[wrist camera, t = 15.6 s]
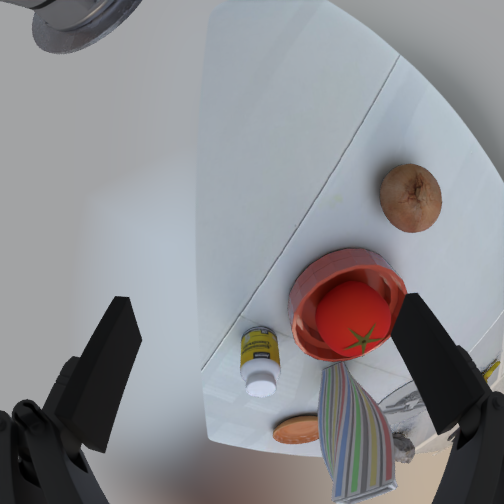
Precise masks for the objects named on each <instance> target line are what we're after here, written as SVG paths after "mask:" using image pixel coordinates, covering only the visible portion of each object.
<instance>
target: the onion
mask: <svg viewBox="0 0 504 504" xmlns="http://www.w3.org/2000/svg"><path fill="white" fill-rule="evenodd" d="M380 202H381V206H382V209H383V212H384V214H385V215H386V217H387V218H388V220H389V221H390V222H391V223H392V224H393V225H394V226H395V227H396V228H398V229H400V230H402V231H404V232H408V233H416V232H421V231H424V230H426V229H428V228H429V227H431V226H432V225H433V224H434V222H435V221H436V220H437V218H438V216H439V214H440V211H441V206H442V198H441V190H440V187H439V185H438V182H437V180H436V179H435V178H434V176H433V175H432V174H431V173H430V172H429V171H428V170H426V169H425V168H423V167H421V166H418V165H415V164H405V165H400V166H397V167H395V168H394V169H393V170H391V171H390V172H389V173H388V174H387V175H386V177H385V178H384V180H383V182H382V184H381V189H380Z"/></svg>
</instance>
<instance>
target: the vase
mask: <svg viewBox="0 0 504 504" xmlns="http://www.w3.org/2000/svg"><path fill="white" fill-rule="evenodd" d="M318 431H319V440H320V447H321V451H322V455H323V459H324V462H325V465H326V467H327V470H328V472H329V474H330V476H331V478H332V481H333V488H332V501H333V502H335V503H338V504H354V503H358V502H361V501H364V500H367V499H370V498H373V497H376V496H379V495H382V494H384V493H387V492H390V491H392V490H395V489H396V488H397V483H396V480H395V452H394V442H393V436H392V431H391V428H390V425H389V423H388V421H387V418H386V416H385V415H384V413H383V411H382V410H381V408H380V407H379V406H378V404H377V403H376V402H375V401H374V399H373V398H372V397H371V396H370V395H369V394H368V393H367V392H366V391H365V390H364V389H363V388H362V387H361V386H360V384H359V383H358V382H357V381H356V380H355V379H354V378H353V377H352V376H351V374H350V373H349V371H348V369H347V368H346V366H345V364H344V362H343V361H342V362H340V363H338V364H335V365H333V366H332V367H329V368H327V369H324V370H322V378H321V386H320V393H319V403H318Z"/></svg>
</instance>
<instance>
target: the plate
mask: <svg viewBox="0 0 504 504" xmlns="http://www.w3.org/2000/svg"><path fill="white" fill-rule="evenodd" d="M378 406H379V407H380V408H381V410H382V411H383V413H384V415H385V416H386V418H387V421H388V423H389V425H395V424H398V423H401V422H404V421H406V420H408V419H410V418H412V417H414V416H416V415H418V414H420V413H421V412H423V411H424V410H426V406H425V404H424V402H423V400H422V398H421V395H420V393H419V391H418V389H417V387H416V385H415V383H414V381H411V382H409V383H407V384H406V385H404V386H402V387H400V388H399V389H397V390H396V391H394V392H393V393H391V394H390V395H388V396H387V397H386V398H385V399H383V400H382V401H381V402H380V403H379V404H378Z"/></svg>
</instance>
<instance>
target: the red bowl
mask: <svg viewBox="0 0 504 504" xmlns="http://www.w3.org/2000/svg"><path fill="white" fill-rule="evenodd" d="M348 281H358V282H362V283H365V284H367V285H369V286H370V287H372V288H373V289H375V290H376V291H377V292H378V293H379V294H380V295H381V296H382V298H383V299H384V300H385V301H386V302H387V304H388V306H389V309H390V312H391V324H390V328H389V331H388V333H387V334H386V336H385V337H384V338H385V339H382V340H381V341H380V343H379V344H378V345H376V346H375V347H374V348H373V349H371V350H370V351H368V352H366V353H364V354H363V355H366V354H367V353H369V352H371V351H373V350H374V349H376V348H378V347H379V346H381V345H382V344H383V343H384V342H385V341H386V340H387V339H389V338H390V337H391V336H390V334H391V332H392V329H393V327H394V324H395V322H396V319H397V316H398V314H399V311H400V309H401V306H402V303H403V300H404V298H405V295H406V294H408V293H407V290H406V287H405V285H404V282H403V280H402V279H401V277H400V276H399V275H398V274H397V273H396V271H395V270H394V269H393V268H392V267H391V266H390V264H389V263H388V262H387V261H385V260H384V259H383V258H382V257H381V256H380V255H379V254H377V253H374V252H371V251H369V250H366V249H343V250H339V251H336V252H332V253H329V254H327V255H325V256H323V257H322V258H320V259H318V260H317V261H315V262H314V263H312V264H311V265H309V266H308V267H307V269H306V270H305V271H304V272H303V273H302V274H301V275H300V276H299V277H298V278H297V280H296V282H295V284H294V286H293V288H292V290H291V292H290V294H289V302H288V313H289V319H290V324H291V329H292V333H293V336H294V340H295V343H296V344H297V345H298V346H299V348H300V349H301V350H302V351H303V352H304V353H305V354H307V355H309V356H311V357H313V358H315V359H317V360H323V361H330V362H336V361H347V360H351V359H354V358H357V357H360V356H362V355H359V356H355V357H347V356H342V355H340V354H338V353H336V352H335V351H333V350H332V349H331V348H330V347H329V346H328V345H327V344H326V343H325V342H324V340H323V339H322V337H321V335H320V333H319V331H318V329H317V326H316V322H315V312H316V309H317V306H318V304H319V303H320V301H321V300H322V298H323V297H324V296H325V295H326V294H327V293H328V292H330V291H331V290H332V289H333V288H335V287H336V286H338V285H340V284H342V283H345V282H348Z"/></svg>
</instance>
